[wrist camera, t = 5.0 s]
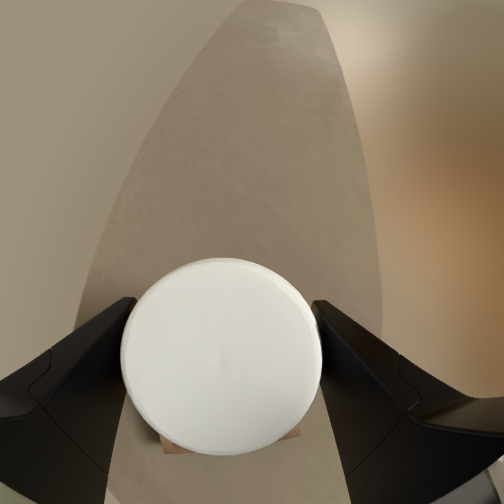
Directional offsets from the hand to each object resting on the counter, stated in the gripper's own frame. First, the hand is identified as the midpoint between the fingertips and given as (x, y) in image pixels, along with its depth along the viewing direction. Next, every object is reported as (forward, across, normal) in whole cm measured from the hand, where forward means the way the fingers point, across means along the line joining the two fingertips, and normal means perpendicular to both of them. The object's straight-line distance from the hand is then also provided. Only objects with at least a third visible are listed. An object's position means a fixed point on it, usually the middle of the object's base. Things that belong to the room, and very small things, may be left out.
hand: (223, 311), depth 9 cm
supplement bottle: (+4, 0, +6) cm, 7 cm away
